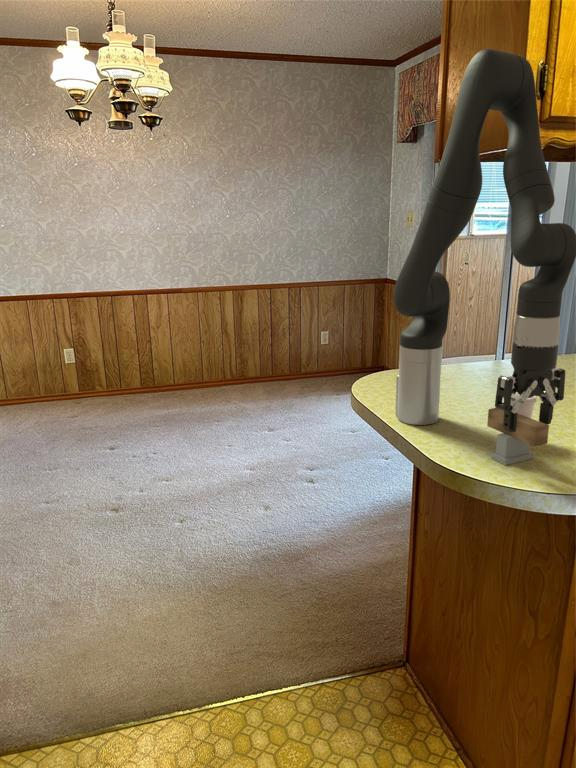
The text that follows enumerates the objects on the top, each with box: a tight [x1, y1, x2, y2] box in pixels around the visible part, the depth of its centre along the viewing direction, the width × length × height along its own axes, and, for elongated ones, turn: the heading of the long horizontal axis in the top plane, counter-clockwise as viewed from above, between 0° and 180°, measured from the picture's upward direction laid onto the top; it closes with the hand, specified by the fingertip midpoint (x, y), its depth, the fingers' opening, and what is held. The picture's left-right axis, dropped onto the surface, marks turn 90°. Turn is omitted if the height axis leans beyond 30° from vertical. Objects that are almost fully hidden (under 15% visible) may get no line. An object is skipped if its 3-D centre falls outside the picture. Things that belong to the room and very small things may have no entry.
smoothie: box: [503, 392, 538, 419], centre depth 123 cm, size 6×6×14 cm
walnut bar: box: [487, 407, 550, 447], centre depth 113 cm, size 12×3×4 cm, turn 25°
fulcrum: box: [490, 432, 534, 466], centre depth 115 cm, size 4×7×5 cm, turn 115°
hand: (527, 427), depth 111 cm, fingers open, 8 cm apart
